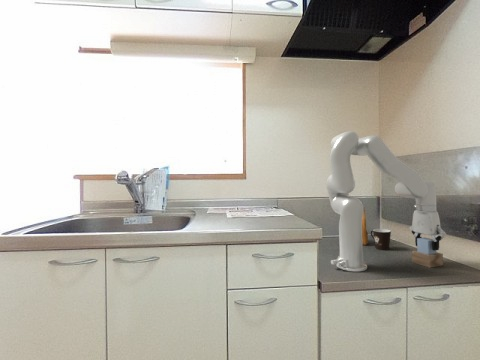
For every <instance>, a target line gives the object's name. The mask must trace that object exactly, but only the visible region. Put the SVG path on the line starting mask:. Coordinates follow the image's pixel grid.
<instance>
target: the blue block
mask: <svg viewBox="0 0 480 360" xmlns="http://www.w3.org/2000/svg"><path fill="white" fill-rule="evenodd" d="M432 241H434V240H433V238H430V237H422V238H418V239H417V246H416V249H417V250H416V251H417V252H420V253H424V254H428V255H430V254H435V253H437V252H438V251H437V250H435V251H434V250H432Z"/></svg>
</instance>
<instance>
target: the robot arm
mask: <svg viewBox="0 0 480 360" xmlns="http://www.w3.org/2000/svg"><path fill="white" fill-rule="evenodd" d="M330 147H331V150H330V154H329V166H330V172H331V174H330V175H329V176H328V177H327V179H326V183H325V185H326V191H327V194H328V199H329V202H330V203H329V204H330V207H331V209H332V211H333V212H335V213H336V214H338V215H340V216H339V217H340V218H339V221H338V233H339V234H338V235H339V237H338V240H339V241H338V242H339V244H338V245H339V255H338V256H337V258H336V259H331V260H330V264H331V265H336V267H337V268H338V269H340V270H344V271H348V272H364V271H366V270H367V269H368V265H367V263H365V262H364V254H363V251H364V249H363V247H364V245H363V244H362V218H363V211H364V210H365V207H364V205H363V203H362V201H361V200H360V199H359V198H357V197H355V196H353V195H352V196H351V195H349V194H351V193H352V192H353V191H354V189H355V187H356V182H355V178H354V174H353V170H352V165H351V156H358V157H359V156H362V157H363V156H367V157H368V158H369V160H371V162H372V163H373V164H374V165H375V166H376V168H377V169H378V170H379V171H380V172H381V173H383V174H385V175H388V176H390V177H392V178H395V179H396V180H398V181H399V182H397V183H396V184H395V186H394V191H395V193H396V195H398V196H399V197H402V198H407V199H415V204H414V205H413V207H414V208H415V210H414V211H413V213H412V221H411V223H412V224H411V225H410V226H409V227H408V229H409V230H410V232H411V233H412V235H413V237H414V238H415V239H414V240H415V241H414V242H415V247H417V239H418V238H423V237H422V235H426V236H427V235H428V236H430V237H431V239H433V240H434V241H432V250H434V251H435V250H436V251H439V250H440V242H441V241H442V240H443V239H444V238H445V237H446V236H447V233H446V232H445V230H443V229H442V228H441V220H440V216H439V212H438V211H437V185H436V182H435V181H434V180H424V179H423V178H422V176H421V175H420V174H419V173H418V172H417V171H416V170H415V169H413V168H412V167H410V166H408V164H406V163H404V162H402V161H401V160H400V159H399V158H398V157H396V155H395V154H394V153H393V151H391V149H390V147H388V146H387V144H386V143H385V142H384V141H383V140H382V139H381V137H379V136H378V135H367V136H364V137H359V135H358V133H357V132H355V131H351V130H350V131H349V130H348V131H345V132H342V133H340V134H337V135H335V136H334V137H332V139H331V140H330ZM363 207H364V208H363Z"/></svg>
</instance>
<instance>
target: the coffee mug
mask: <svg viewBox="0 0 480 360" xmlns="http://www.w3.org/2000/svg"><path fill="white" fill-rule="evenodd" d="M391 232H392V230H391V229H387V228H386V229H385V228H374V229H372V230H370V236H371V237H372V239H373V240H374V245H375V249H376V250H379V251H390V246H391V245H390V243H391V236H392V235H391V234H392V233H391Z"/></svg>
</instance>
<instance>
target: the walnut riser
mask: <svg viewBox="0 0 480 360" xmlns="http://www.w3.org/2000/svg"><path fill="white" fill-rule="evenodd" d="M436 252H437V253H435V254H430V255H428V254H424V253H420V252H417V250H412V251H411V253H412V255H411V258H412V259H411V260H412V263H414V264H417V265H421V266H423V267H426V268H435V267H439V266H441V267H442V266H443V265H444V255H443V253H441V252H438V251H436Z"/></svg>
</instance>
